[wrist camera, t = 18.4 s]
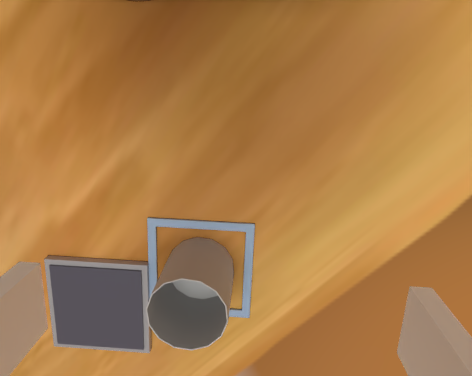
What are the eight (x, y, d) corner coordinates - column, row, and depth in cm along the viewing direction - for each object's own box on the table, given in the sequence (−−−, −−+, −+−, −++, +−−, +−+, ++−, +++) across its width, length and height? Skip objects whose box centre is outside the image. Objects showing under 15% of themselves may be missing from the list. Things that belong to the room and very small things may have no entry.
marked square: (148, 217, 48) (147, 218, 47) (254, 223, 47) (254, 224, 47) (150, 309, 51) (149, 311, 51) (249, 316, 51) (249, 317, 50)
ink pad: (48, 255, 50) (42, 260, 49) (149, 261, 49) (146, 266, 48) (57, 341, 54) (53, 347, 52) (151, 347, 53) (148, 354, 52)
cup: (180, 303, 51) (162, 357, 41) (158, 247, 49) (133, 291, 39) (242, 287, 50) (238, 339, 40) (222, 229, 48) (213, 270, 38)
